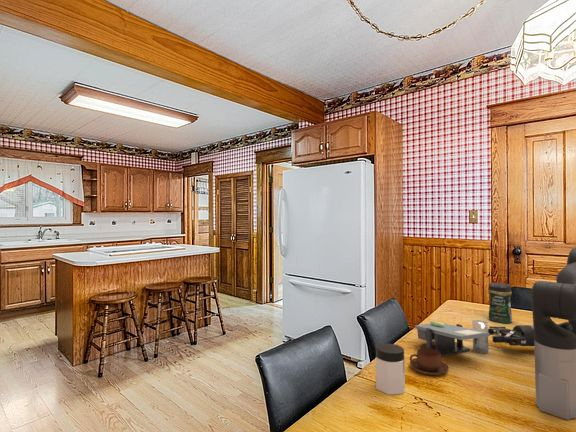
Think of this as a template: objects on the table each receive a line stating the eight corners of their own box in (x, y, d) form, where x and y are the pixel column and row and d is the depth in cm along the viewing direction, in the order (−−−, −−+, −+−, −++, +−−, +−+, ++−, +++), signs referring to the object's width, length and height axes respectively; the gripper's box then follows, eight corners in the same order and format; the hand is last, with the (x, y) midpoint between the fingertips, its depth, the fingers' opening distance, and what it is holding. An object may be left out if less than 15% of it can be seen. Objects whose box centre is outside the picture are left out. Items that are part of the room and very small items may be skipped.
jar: (399, 380, 107) (398, 342, 107) (411, 393, 99) (410, 352, 99) (371, 382, 106) (370, 343, 106) (381, 396, 98) (380, 354, 98)
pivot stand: (420, 349, 132) (419, 325, 133) (454, 344, 137) (453, 321, 137) (434, 356, 125) (434, 332, 125) (470, 351, 129) (469, 327, 129)
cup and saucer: (425, 380, 107) (424, 361, 107) (402, 365, 119) (402, 347, 119) (457, 375, 110) (456, 356, 110) (432, 361, 122) (431, 343, 122)
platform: (416, 338, 138) (414, 321, 139) (440, 335, 141) (438, 318, 142) (463, 352, 114) (460, 331, 115) (491, 348, 118) (488, 327, 119)
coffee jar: (486, 320, 167) (485, 282, 167) (492, 317, 172) (491, 280, 173) (509, 325, 160) (508, 285, 160) (514, 321, 165) (513, 283, 166)
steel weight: (485, 354, 126) (485, 325, 126) (470, 351, 130) (470, 322, 130) (490, 351, 129) (490, 322, 129) (475, 347, 133) (475, 319, 133)
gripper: (518, 320, 136) (477, 320, 136) (543, 331, 121) (497, 331, 122) (519, 339, 136) (477, 338, 136) (544, 352, 121) (497, 352, 122)
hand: (486, 335), depth 129 cm, fingers open, 8 cm apart
